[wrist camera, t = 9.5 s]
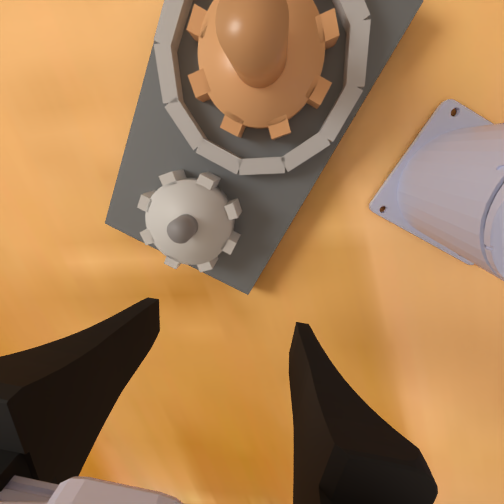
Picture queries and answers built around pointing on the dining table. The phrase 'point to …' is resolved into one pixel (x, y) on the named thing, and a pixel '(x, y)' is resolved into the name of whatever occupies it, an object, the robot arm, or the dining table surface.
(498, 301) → the dining table surface
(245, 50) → the planet gear
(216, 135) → the carrier plate
